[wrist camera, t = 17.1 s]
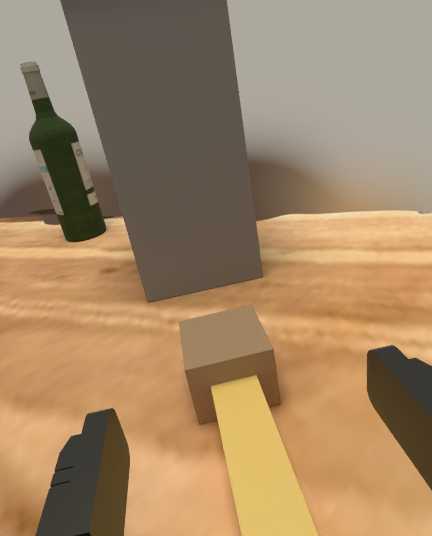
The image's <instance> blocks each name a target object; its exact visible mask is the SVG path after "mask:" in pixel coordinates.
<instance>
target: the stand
mask: <svg viewBox="0 0 432 536" xmlns="http://www.w3.org/2000/svg"><path fill="white" fill-rule="evenodd" d="M60 1H61V4H62V8H63V11H64V15H65V18H66V21H67V25H68V28H69V32H70V35H71V39H72V42H73V46H74V49H75V53H76V56H77V59H78V63H79V66H80V69H81V73H82V77H83V80H84V83H85V87H86V91H87V94H88V97H89V101H90V104H91V108H92V111H93V114H94V118H95V122H96V125H97V128H98V132H99V135H100V139H101V142H102V146H103V149H104V153H105V156H106V160H107V163H108V166H109V170H110V173H111V177H112V180H113V184H114V187H115V191H116V194H117V197H118V201H119V204H120V208H121V211H122V215H123V218H124V222H125V225H126V229H127V232H128V235H129V239H130V242H131V246H132V249H133V253H134V256H135V260H136V263H137V267H138V270H139V273H140V277H141V280H142V284H143V287H144V291H145V294H146V298H147V301H148V302H152V301H157V300H161V299H166V298H170V297H175V296H179V295H184V294H188V293H193V292H197V291H202V290H206V289H211V288H215V287H220V286H224V285H229V284H233V283H238V282H242V281H247V280H251V279H256V278H260V277H263V273H262V266H261V258H260V250H259V243H258V235H257V228H256V220H255V213H254V205H253V197H252V190H251V182H250V174H249V167H248V159H247V152H246V144H245V136H244V129H243V121H242V114H241V106H240V99H239V91H238V83H237V76H236V68H235V61H234V54H233V45H232V38H231V30H230V23H229V15H228V7H227V0H60Z"/></svg>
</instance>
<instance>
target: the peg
mask: <svg viewBox="0 0 432 536" xmlns="http://www.w3.org/2000/svg"><path fill="white" fill-rule="evenodd" d="M179 327H180V335H181V343H182V351H183V359H184V367H185V373H186V376H187V380H188V384H189V388H190V392H191V395H192V399H193V403H194V407H195V411H196V414H197V418H198V422H199V425H200V424H204V423H208V422H212V421H216V420H218V424H219V429H220V434H221V438H222V443H223V448H224V453H225V458H226V462H227V467H228V472H229V477H230V482H231V487H232V491H233V496H234V501H235V506H236V511H237V515H238V520H239V525H240V530H241V535H242V536H318V534H317V531H316V528H315V526H314V523H313V521H312V518H311V515H310V513H309V510H308V508H307V505H306V502H305V500H304V497H303V495H302V492H301V489H300V487H299V484H298V482H297V479H296V476H295V474H294V471H293V469H292V466H291V463H290V461H289V458H288V456H287V453H286V451H285V448H284V445H283V443H282V440H281V438H280V435H279V432H278V430H277V427H276V425H275V422H274V419H273V417H272V414H271V412H270V409H269V407H271V406H275V405H279V404H280V396H279V388H278V380H277V373H276V365H275V357H274V349H273V347H272V345H271V343H270V341H269V339H268V337H267V335H266V333H265V331H264V329H263V327H262V325H261V323H260V321H259V319H258V317H257V315H256V313H255V311H254V309H253V307H252V305H248V306H244V307H240V308H236V309H231V310H227V311H223V312H218V313H214V314H210V315H205V316H201V317H197V318H193V319H188V320H184V321H180V322H179Z"/></svg>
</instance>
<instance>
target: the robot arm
mask: <svg viewBox="0 0 432 536" xmlns="http://www.w3.org/2000/svg"><path fill="white" fill-rule="evenodd" d="M367 391H368V395H369V398H370V401H371V403H372V405H373V407H374V409H375V410H376V411H377V413H378V414H379V416H380V417H381V419H382V420H383V421H384V423H385V424H386V426H387V427H388V429H389V430H390V431H391V433H392V434H393V436H394V437H395V439H396V440H397V441H398V443H399V444H400V446H401V447H402V448H403V450H404V451H405V453H406V454H407V456H408V457H409V458H410V460H411V461H412V463H413V464H414V466H415V467H416V468H417V470H418V471H419V473H420V474H421V476H422V477H423V478H424V480H425V481H426V483H427V484H428V486H429V487H430V488H431V490H432V366H430V365H428V364H426V363H424V362H423V361H421V360H419V359H417V358H412V359H408V358H407V357H406V356H405V355H404V354H403V353H402V352H401V351H400V350H399V349H398V348H397V347H395V346H393V345H391V346H386V347H382V348H377V349H373V350H369V351H368V353H367ZM129 468H130V455H129V448H128V444H127V441H126V438H125V436H124V433H123V430H122V428H121V425H120V422H119V420H118V417H117V415H116V412H115V410H114V409H113V408H111V409H106V410H102V411H98V412H93V413H89V414H87V415H86V418H85V422H84V426H83V430H82V434H79V435H74V436H71V437H70V439H69V440H68V442H67V443H66V445H65V446H64V447H63V449H62V450H61V452H60V454H59V457H58V461H57V464H56V467H55V474H53V478H52V481H51V485H50V486H51V488H50V489H49V492H48V495H47V498H46V502H45V505H44V509H43V512H42V516H41V519H40V522H39V526H38V529H37V533H36V536H124V525H125V514H126V502H127V491H128V479H129Z"/></svg>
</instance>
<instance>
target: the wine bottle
mask: <svg viewBox="0 0 432 536" xmlns="http://www.w3.org/2000/svg"><path fill="white" fill-rule="evenodd" d="M21 71H22V73H23V75H24V78H25V81H26V84H27V87H28V90H29V94H30V97H31V100H32V103H33V106H34V109H35V113H36V121H35V123H34V125H33V126H32V128H31V130H30V134H29V140H30V143H31V146H32V148H33V151H34V154H35V157H36V160H37V162H38V164H39V168H40V170H41V173H42V176H43V179H44V181H45V184H46V187H47V189H48V192H49V195H50V197H51V200H52V203H53V206H54V208H55V211H56V214H57V216H58V219H59V222H60V224H61V227H62V230H63V233H64V235H65V238H66V239H67V240H68V241H72V242H77V241H83V240H87V239H91V238H94V237H96V236H98V235H100V234H102V233H103V232H104V231H105V230H106V225H105V222H104V219H103V216H102V213H101V210H100V206H99V204H98V200H97V197H96V194H95V191H94V187H93V184H92V181H91V178H90V175H89V171H88V168H87V165H86V162H85V159H84V156H83V153H82V149H81V146H80V143H79V140H78V137H77V134H76V131H75V129H74V128H73V127H72V126H71V124H69V123H68V122H67V121H65V120H64V119H62V118H60V117H59V116H57V114H56V113H55V111H54V109H53V107H52V104H51V101H50V98H49V96H48V93H47V90H46V88H45V85H44V82H43V79H42V77H41V74H40V69H39V66H38V65H37V63H36V62H27V63H22V64H21Z"/></svg>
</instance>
